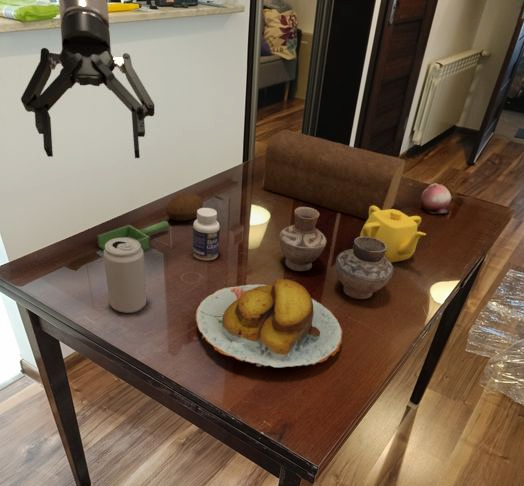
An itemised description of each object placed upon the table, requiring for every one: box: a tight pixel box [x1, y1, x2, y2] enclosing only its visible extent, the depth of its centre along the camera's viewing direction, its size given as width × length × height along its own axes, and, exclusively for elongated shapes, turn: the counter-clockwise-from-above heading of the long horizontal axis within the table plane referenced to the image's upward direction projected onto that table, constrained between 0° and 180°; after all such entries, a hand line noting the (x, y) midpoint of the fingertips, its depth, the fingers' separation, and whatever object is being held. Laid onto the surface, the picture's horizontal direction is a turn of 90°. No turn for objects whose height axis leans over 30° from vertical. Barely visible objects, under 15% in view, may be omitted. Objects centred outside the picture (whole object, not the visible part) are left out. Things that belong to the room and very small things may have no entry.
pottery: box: [278, 206, 395, 300], centre depth 97 cm, size 11×25×12 cm, turn 54°
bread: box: [262, 129, 406, 221], centre depth 127 cm, size 14×34×14 cm, turn 63°
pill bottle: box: [192, 207, 221, 262], centre depth 100 cm, size 5×5×10 cm
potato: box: [166, 192, 204, 222], centre depth 112 cm, size 7×10×6 cm
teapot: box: [359, 206, 427, 263], centre depth 108 cm, size 14×13×10 cm
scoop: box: [96, 220, 169, 252], centre depth 103 cm, size 16×7×3 cm, turn 139°
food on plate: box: [194, 278, 344, 368], centre depth 83 cm, size 25×25×7 cm
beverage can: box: [103, 237, 147, 314], centre depth 83 cm, size 6×6×12 cm
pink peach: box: [420, 182, 452, 215], centre depth 131 cm, size 8×8×7 cm
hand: (93, 153), depth 78 cm, fingers open, 13 cm apart
